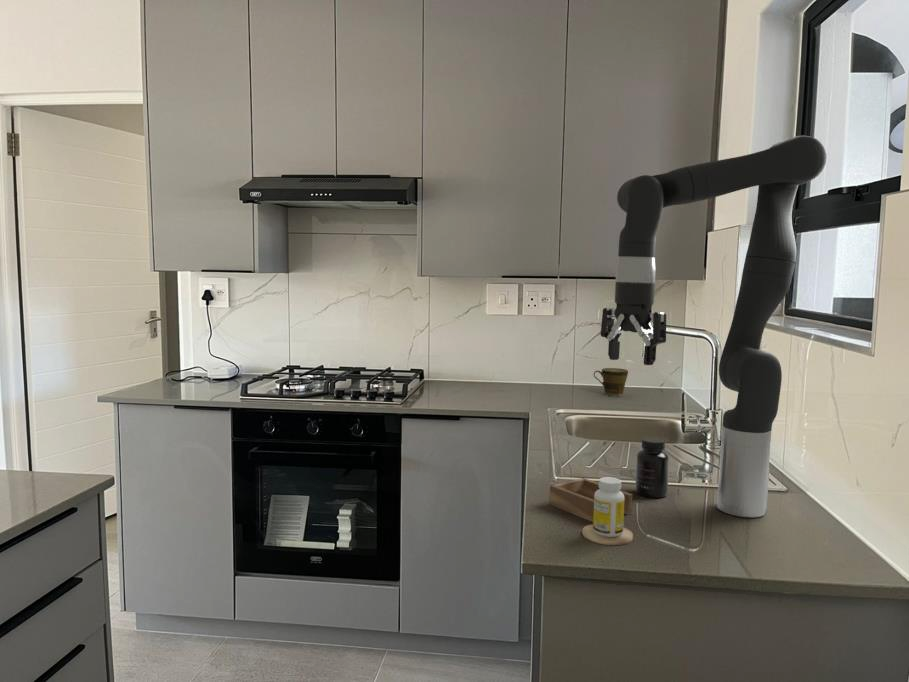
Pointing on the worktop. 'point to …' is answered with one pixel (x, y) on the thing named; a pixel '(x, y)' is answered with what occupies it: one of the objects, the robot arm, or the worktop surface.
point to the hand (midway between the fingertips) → (630, 362)
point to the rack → (580, 498)
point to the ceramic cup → (613, 380)
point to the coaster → (596, 538)
